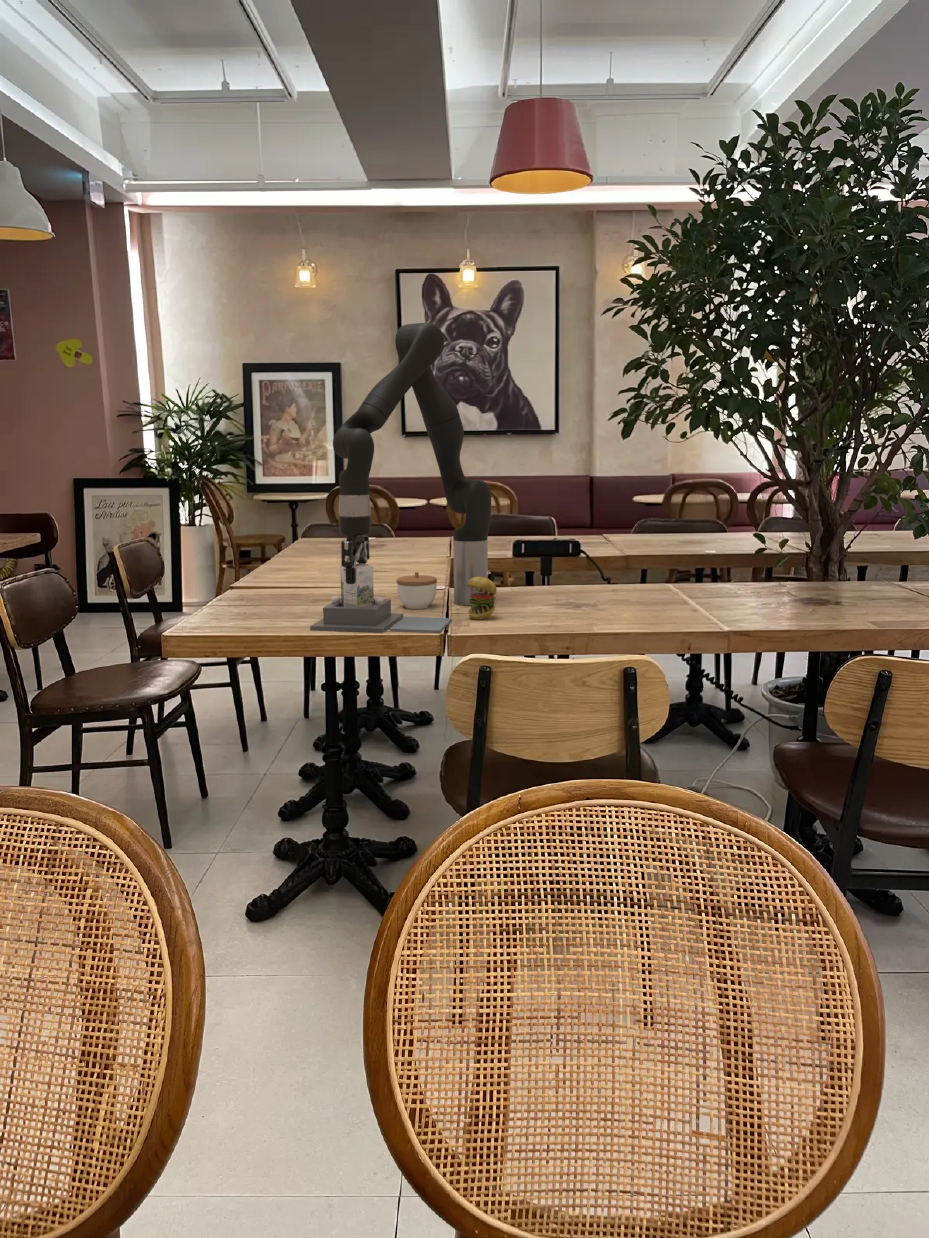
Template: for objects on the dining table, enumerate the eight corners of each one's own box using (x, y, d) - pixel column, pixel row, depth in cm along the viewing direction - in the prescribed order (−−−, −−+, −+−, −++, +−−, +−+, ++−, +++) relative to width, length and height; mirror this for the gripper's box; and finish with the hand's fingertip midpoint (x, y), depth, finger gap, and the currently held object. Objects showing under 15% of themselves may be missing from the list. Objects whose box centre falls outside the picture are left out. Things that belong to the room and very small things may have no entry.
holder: (335, 615, 231) (334, 590, 230) (403, 617, 227) (403, 592, 226) (310, 630, 214) (308, 603, 212) (383, 632, 210) (382, 605, 209)
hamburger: (460, 618, 226) (460, 570, 224) (481, 613, 231) (480, 567, 229) (482, 622, 221) (482, 574, 218) (503, 618, 226) (503, 570, 223)
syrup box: (358, 620, 225) (356, 562, 222) (375, 623, 221) (373, 564, 218) (341, 624, 220) (339, 565, 217) (358, 627, 217) (356, 567, 214)
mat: (405, 619, 225) (405, 616, 225) (452, 620, 223) (452, 618, 223) (389, 631, 212) (389, 628, 212) (439, 633, 210) (439, 630, 209)
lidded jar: (389, 608, 239) (388, 573, 237) (410, 602, 248) (409, 568, 246) (424, 612, 234) (423, 576, 232) (444, 605, 243) (444, 570, 241)
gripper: (360, 516, 207) (362, 586, 211) (378, 511, 221) (379, 577, 224) (329, 516, 209) (331, 585, 212) (349, 511, 223) (350, 576, 226)
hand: (356, 581), depth 218 cm, fingers open, 8 cm apart
